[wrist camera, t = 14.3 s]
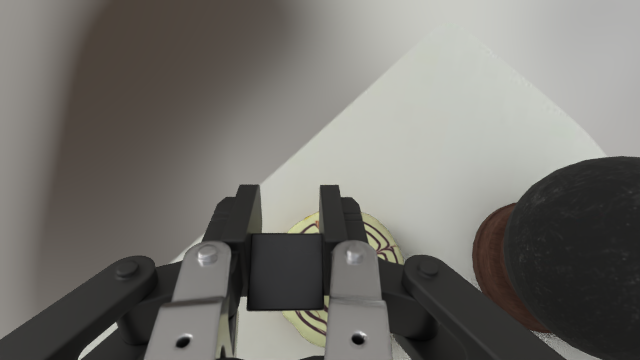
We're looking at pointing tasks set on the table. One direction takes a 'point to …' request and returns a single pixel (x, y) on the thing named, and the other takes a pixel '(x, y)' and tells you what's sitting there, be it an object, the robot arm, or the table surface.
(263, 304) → the knife
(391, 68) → the table surface
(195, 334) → the robot arm
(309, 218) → the decorated donut
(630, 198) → the black ball on stand
